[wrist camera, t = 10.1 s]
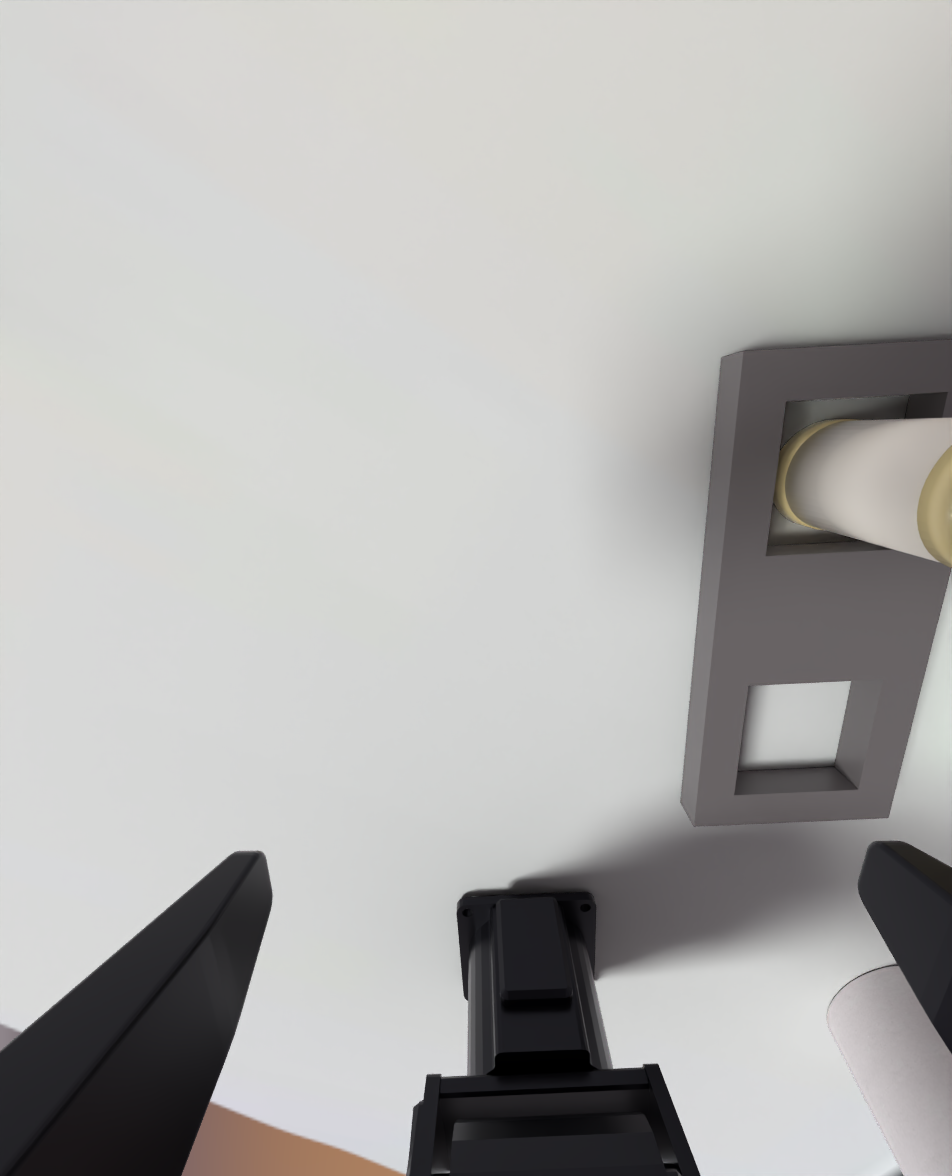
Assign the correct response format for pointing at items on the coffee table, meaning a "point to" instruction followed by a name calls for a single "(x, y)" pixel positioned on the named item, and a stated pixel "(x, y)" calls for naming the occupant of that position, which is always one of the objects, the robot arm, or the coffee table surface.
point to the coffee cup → (898, 1068)
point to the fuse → (872, 482)
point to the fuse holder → (806, 597)
